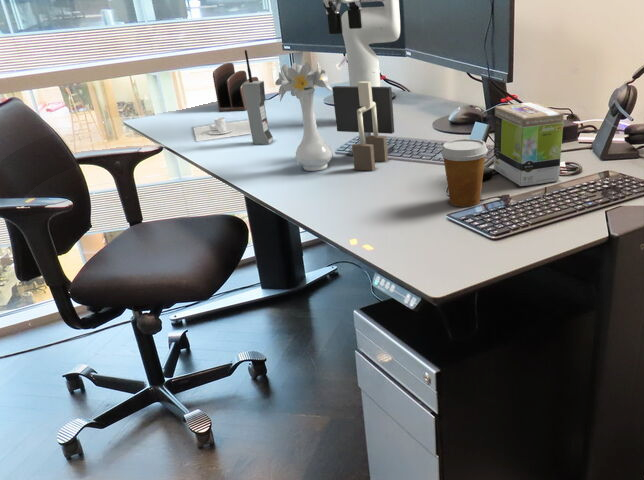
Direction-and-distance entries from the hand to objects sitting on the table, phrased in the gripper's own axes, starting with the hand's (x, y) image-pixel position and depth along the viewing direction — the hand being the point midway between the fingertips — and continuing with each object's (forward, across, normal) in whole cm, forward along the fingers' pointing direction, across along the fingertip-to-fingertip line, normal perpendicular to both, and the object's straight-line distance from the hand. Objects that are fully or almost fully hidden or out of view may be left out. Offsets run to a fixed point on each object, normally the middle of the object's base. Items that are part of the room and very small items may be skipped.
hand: (346, 30), depth 152 cm
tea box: (+31, -2, -44) cm, 54 cm away
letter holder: (+30, +58, +78) cm, 102 cm away
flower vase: (+31, -7, +10) cm, 33 cm away
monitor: (+30, +9, +1) cm, 32 cm away
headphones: (+31, -1, -4) cm, 31 cm away
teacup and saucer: (+30, +24, +60) cm, 71 cm away
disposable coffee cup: (+31, -22, -36) cm, 53 cm away
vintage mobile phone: (+30, +12, +38) cm, 50 cm away
